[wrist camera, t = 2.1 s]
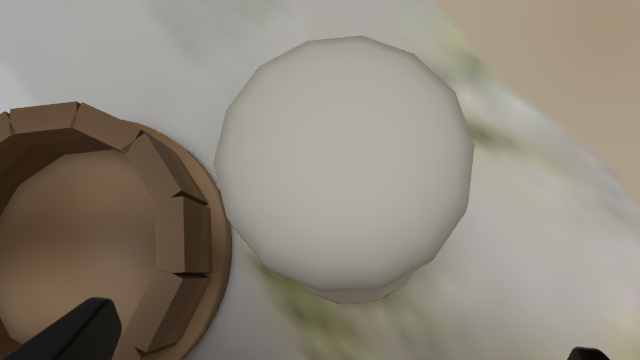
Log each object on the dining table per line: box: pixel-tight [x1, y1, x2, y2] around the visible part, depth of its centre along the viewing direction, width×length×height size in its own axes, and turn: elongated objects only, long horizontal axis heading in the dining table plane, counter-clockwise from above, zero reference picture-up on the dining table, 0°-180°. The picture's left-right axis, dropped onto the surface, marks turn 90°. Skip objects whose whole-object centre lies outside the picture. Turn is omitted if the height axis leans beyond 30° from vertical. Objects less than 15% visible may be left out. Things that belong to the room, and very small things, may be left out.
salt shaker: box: [214, 36, 474, 303], centre depth 13 cm, size 6×6×13 cm
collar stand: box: [0, 101, 232, 360], centre depth 18 cm, size 12×12×4 cm
